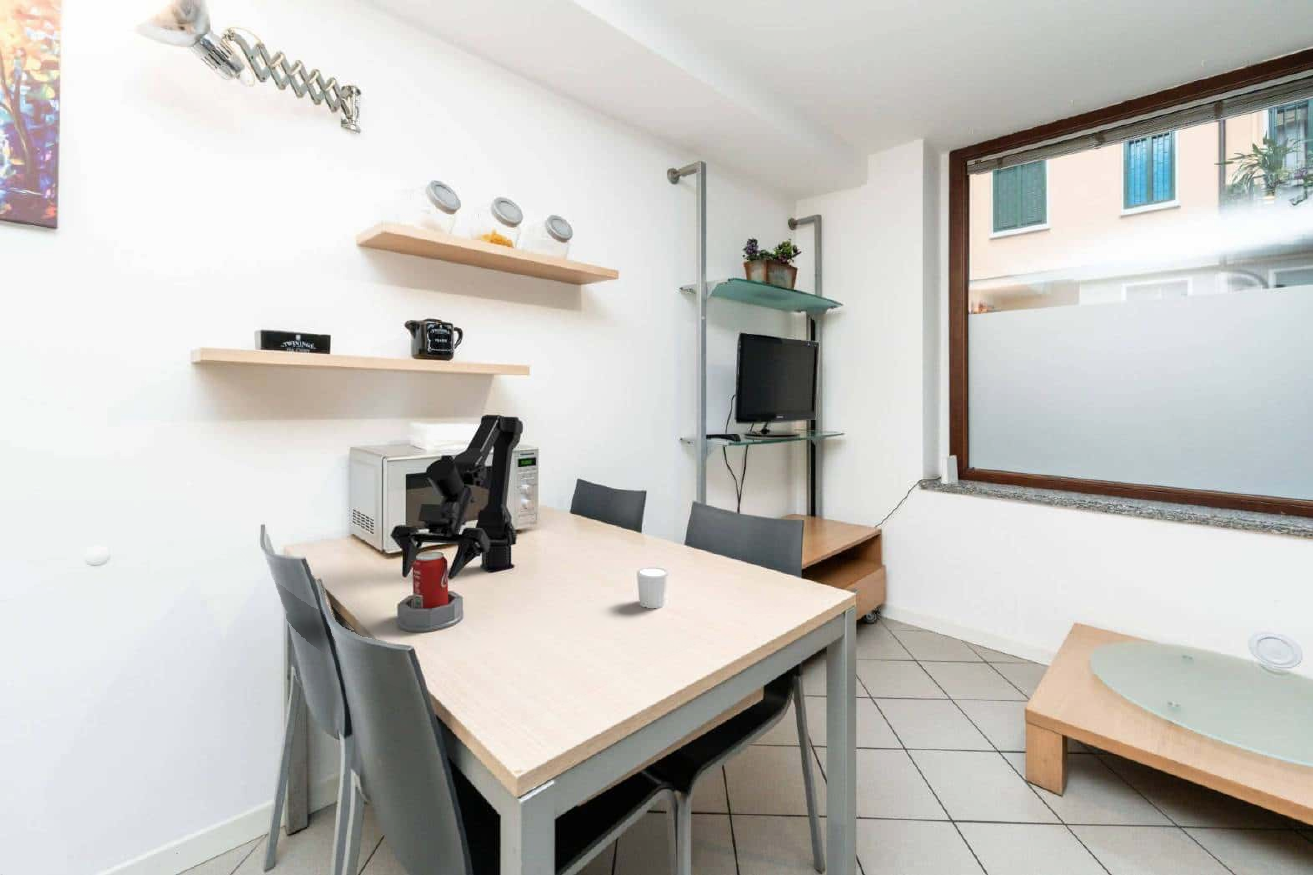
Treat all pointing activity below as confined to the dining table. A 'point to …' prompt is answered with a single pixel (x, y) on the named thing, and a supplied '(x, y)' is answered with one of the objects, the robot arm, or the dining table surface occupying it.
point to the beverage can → (430, 580)
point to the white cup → (652, 587)
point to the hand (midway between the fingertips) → (426, 577)
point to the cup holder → (429, 615)
